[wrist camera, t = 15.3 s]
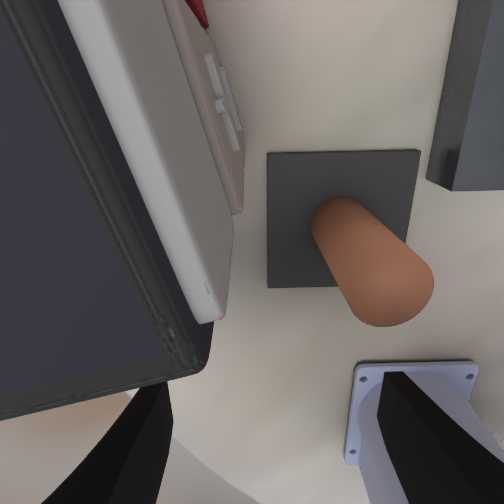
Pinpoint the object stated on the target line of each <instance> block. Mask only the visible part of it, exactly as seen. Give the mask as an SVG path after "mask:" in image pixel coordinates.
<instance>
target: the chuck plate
mask: <svg viewBox="0 0 504 504" xmlns="http://www.w3.org/2000/svg"><path fill="white" fill-rule="evenodd" d="M426 179H427V180H429V181H431V182H433V183H436V184H438V185H440V186H442V187H444V188H446V189H448V190H450V191H486V190H504V0H459V4H458V9H457V15H456V20H455V25H454V31H453V36H452V42H451V47H450V53H449V58H448V63H447V69H446V74H445V80H444V85H443V90H442V96H441V101H440V107H439V112H438V118H437V123H436V128H435V134H434V139H433V145H432V150H431V155H430V161H429V166H428V172H427V177H426Z"/></svg>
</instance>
